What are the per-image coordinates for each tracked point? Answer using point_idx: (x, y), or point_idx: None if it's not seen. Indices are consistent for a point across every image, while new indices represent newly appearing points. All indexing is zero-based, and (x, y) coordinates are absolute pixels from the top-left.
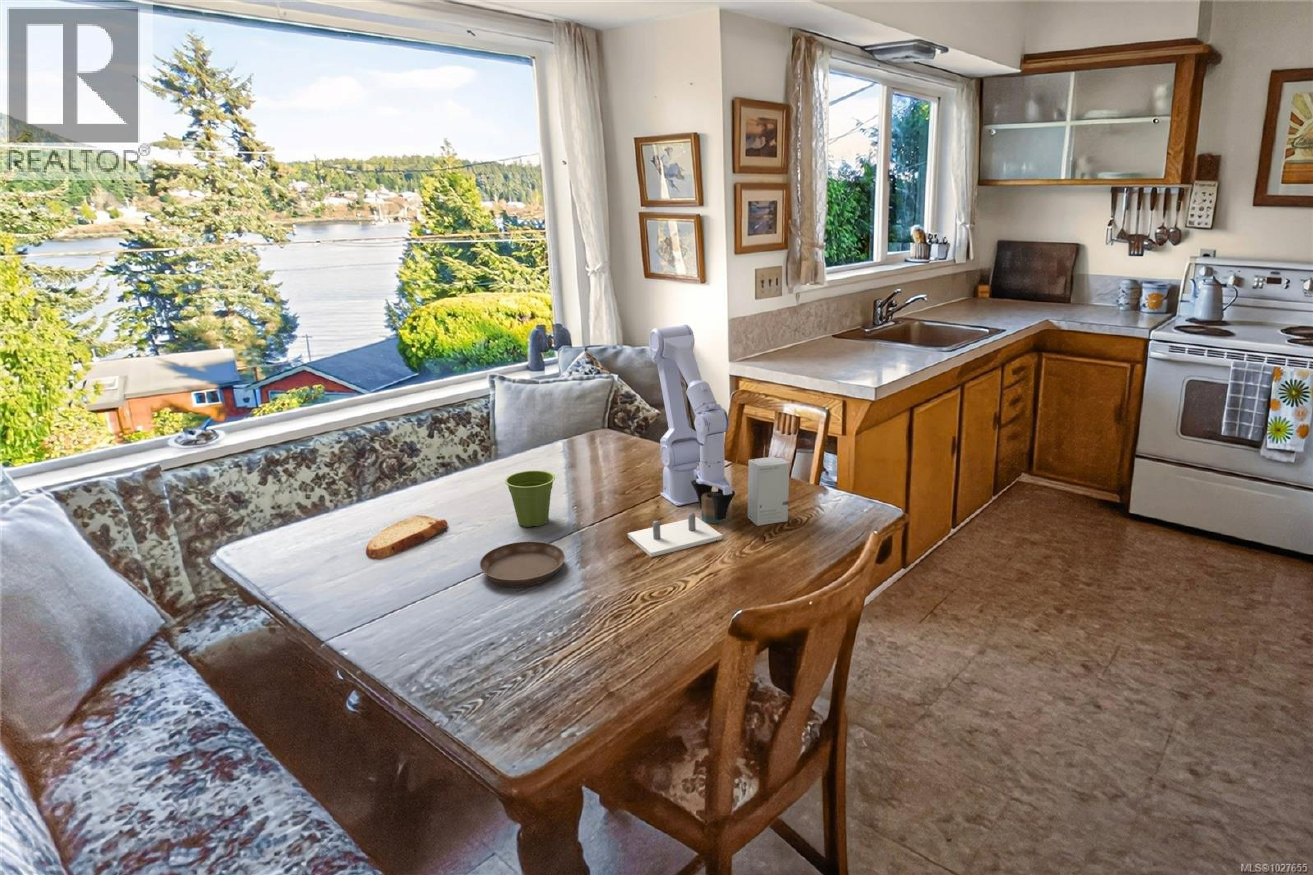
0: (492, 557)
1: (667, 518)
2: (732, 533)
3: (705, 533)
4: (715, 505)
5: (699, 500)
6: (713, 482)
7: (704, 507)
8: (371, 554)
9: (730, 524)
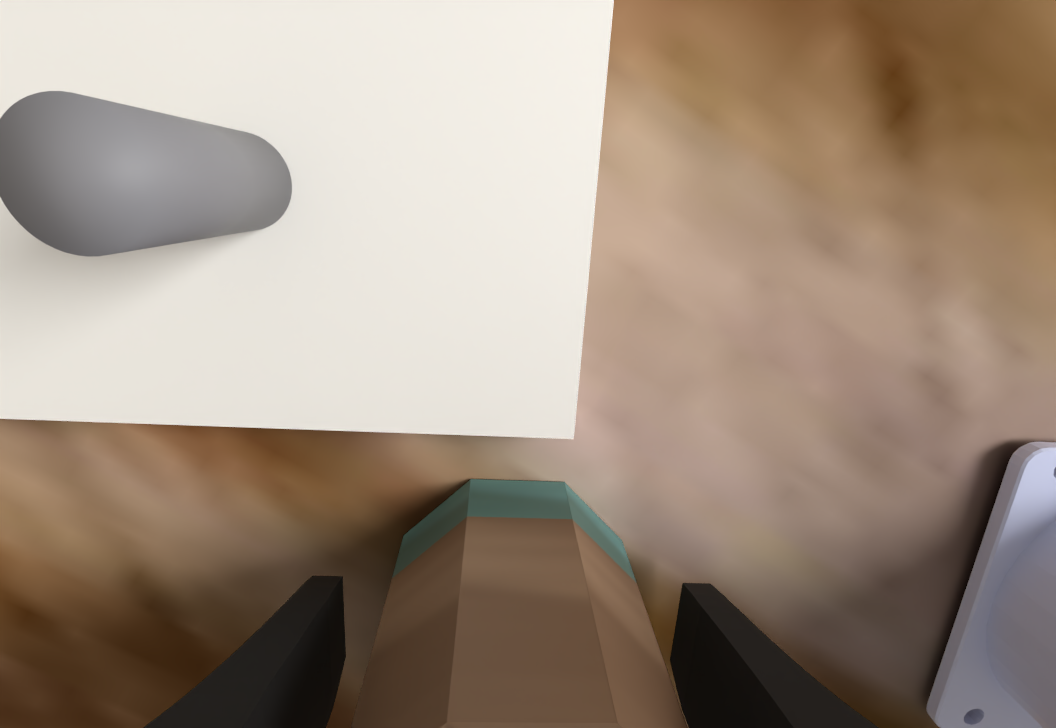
0: None
1: (843, 179)
2: (88, 550)
3: (58, 270)
4: (205, 718)
5: (751, 649)
6: None
7: (506, 589)
8: None
9: None
